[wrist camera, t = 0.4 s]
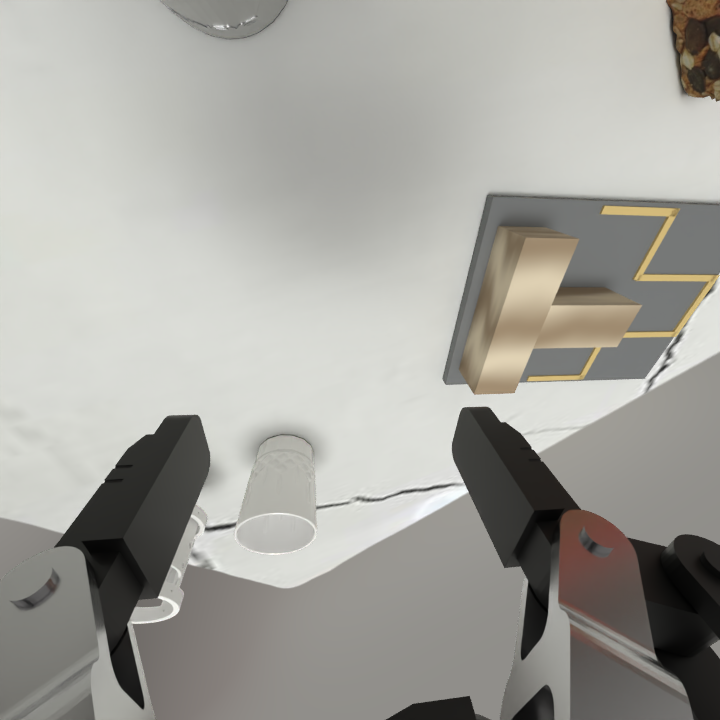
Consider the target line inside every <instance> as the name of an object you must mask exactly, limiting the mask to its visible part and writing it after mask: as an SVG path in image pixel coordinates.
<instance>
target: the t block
mask: <svg viewBox="0 0 720 720" xmlns="http://www.w3.org/2000/svg"><path fill="white" fill-rule="evenodd" d="M578 241H579V239H578V238H575V237H572V236H569V235H566V234H564V233H561V232H558V231H555V230H552V229H549V228H546V227H516V226H498V228H497V232H496V236H495V239H494V243H493V247H492V250H491V254H490V258H489V261H488V265H487V268H486V272H485V276H484V279H483V283H482V287H481V290H480V294H479V298H478V301H477V305H476V308H475V312H474V316H473V319H472V323H471V327H470V330H469V334H468V337H467V341H466V345H465V348H464V352H463V356H462V359H461V363H460V367H459V371H460V372H461V374H462V376H463V377H464V379H465V380H466V382H467V384H468V385H469V387H470V388H471V390H472V392H473V393H474V394H503V393H515V390H516V388H517V386H518V383H519V381H520V378H521V376H522V374H523V371H524V369H525V367H526V364H527V362H528V360H529V357H530V355H531V352H532V350H533V349H537V348H592V347H617V346H618V345H619V343H620V341H621V340H622V338H623V336H624V335H625V333H626V331H627V330H628V328H629V327H630V325H631V323H632V322H633V320H634V318H635V317H636V315H637V313H638V312H639V310H640V308H641V307H642V305H641V304H639V303H636V302H634V301H632V300H630V299H628V298H626V297H624V296H622V295H620V294H618V293H616V292H614V291H611V290H609V289H607V288H605V287H559V286H560V284H561V282H562V279H563V277H564V275H565V272H566V270H567V267H568V265H569V263H570V260H571V258H572V256H573V253H574V251H575V249H576V246H577V244H578Z"/></svg>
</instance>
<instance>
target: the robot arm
mask: <svg viewBox="0 0 720 720" xmlns="http://www.w3.org/2000/svg"><path fill="white" fill-rule="evenodd" d="M160 1H161V2H162V3H163V4H164V5H165V6H167V7H168V8H169V9H170V10H171V11H172V12H173V13H175V14H176V15H177V16H178V17H180V18H181V19H182V20H184V21H185V22H186V23H187V24H189V25H190V26H192V27H194V28H196V29H198V30H200V31H202V32H204V33H206V34H208V35H212V36H216V37H221V38H225V39H233V38H245V37H247V36H250V35H253V34H255V33H258V32H260V31H261V30H263V29H264V28H265V27H266V26H268V25H269V24H270V23H272V22H273V21H274V20H275V18H276V17H277V16H278V14H279V13H280V12H281V10H282V9H283V8H284V6H285V5H286V3H287V0H160ZM452 454H453V459H454V462H455V464H456V466H457V468H458V470H459V472H460V474H461V477H462V479H463V481H464V483H465V485H466V487H467V489H468V491H469V494H470V496H471V497H472V500H473V502H474V504H475V506H476V508H477V510H478V512H479V514H480V517H481V519H482V521H483V523H484V525H485V527H486V529H487V532H488V534H489V536H490V538H491V540H492V542H493V544H494V547H495V549H496V551H497V553H498V555H499V557H500V559H501V561H502V563H503V566H504V568H508V567H519V566H521V568H522V570H523V572H524V574H525V575H526V577H525V579H524V582H523V588H522V596H521V604H520V612H519V620H518V628H517V637H516V644H515V652H514V660H513V665H512V669H511V673H510V676H509V679H508V681H507V685H506V688H505V692H504V696H503V701H502V707H501V713H500V720H720V659H719V657H718V656H717V655H716V653H715V652H714V651H713V650H712V649H711V647H710V646H711V645H712V644H714V643H715V642H717V641H718V640H720V545H718V544H716V543H714V542H712V541H710V540H707V539H705V538H702V537H699V536H695V535H686V534H685V535H680V536H678V537H676V538H675V540H674V541H672V542H671V544H670V545H669V546H668V547H665V546H661V545H656V544H652V543H648V542H644V541H639V540H635V539H631V538H627V537H626V536H625V535H624V534H623V533H622V532H621V531H620V530H619V529H618V528H617V527H616V526H614V525H613V524H612V523H610V522H609V521H607V520H606V519H604V518H602V517H601V516H598V515H596V514H594V513H592V512H589V511H585V510H581V509H580V508H579V507H578V505H577V504H576V503H575V502H574V500H573V499H572V498H571V496H570V495H569V494H568V493H567V491H566V490H565V489H564V488H563V486H562V485H561V484H560V483H559V482H558V480H557V479H556V478H555V476H554V475H553V474H552V472H551V471H550V470H549V469H548V467H547V466H546V465H545V464H544V462H541V460H540V457H539V456H538V455H537V454H536V452H535V451H534V450H532V449H531V446H530V445H529V443H528V442H527V441H526V440H525V438H524V437H523V436H522V435H521V433H519V432H518V431H517V430H515V429H514V428H512V427H511V426H510V425H508V424H507V423H506V422H500V421H499V420H498V418H497V417H496V415H495V414H494V413H493V411H492V410H491V409H490V408H489V407H464V408H462V410H461V412H460V415H459V419H458V423H457V427H456V431H455V434H454V438H453V442H452ZM115 466H116V467H115V469H113V470H112V471H111V472H110V474H109V475H108V476H107V478H106V479H105V483H103V484H101V486H100V487H99V488H98V490H97V491H96V492H95V494H94V495H93V496H92V498H91V499H90V500H89V502H88V503H87V504H86V506H85V507H84V508H83V510H82V511H81V513H80V514H79V515H78V517H77V518H76V519H75V521H74V522H73V523H72V525H71V526H70V527H69V529H68V530H67V531H66V533H65V534H64V535H63V537H62V538H61V540H60V541H59V542H58V543H57V545H56V546H55V547H54V548H52V549H49V550H46V551H43V552H41V553H39V554H36V555H35V556H32V557H31V558H29V559H27V560H25V561H24V562H22V563H21V564H19V565H18V566H16V567H15V568H14V569H12V570H11V571H10V572H8V573H7V574H6V575H5V576H4V577H3V578H2V579H0V720H156V717H155V715H154V712H153V708H152V705H151V701H150V697H149V692H148V688H147V684H146V680H145V675H144V671H143V667H142V663H141V659H140V654H139V650H138V647H137V642H136V638H135V633H134V630H133V625H132V622H131V619H130V617H131V615H132V613H133V611H134V608H135V606H136V604H137V601H138V600H140V599H152V598H158V596H159V594H160V591H161V589H162V586H163V584H164V581H165V579H166V576H167V574H168V571H169V569H170V566H171V564H172V561H173V559H174V556H175V554H176V551H177V549H178V546H179V544H180V542H181V539H182V537H183V534H184V532H185V529H186V527H187V524H188V522H189V519H190V517H191V514H192V512H193V509H194V507H195V504H196V502H197V499H198V497H199V494H200V492H201V489H202V487H203V484H204V482H205V479H206V477H207V474H208V471H209V467H210V452H209V448H208V444H207V441H206V437H205V434H204V430H203V426H202V423H201V419H200V417H199V416H198V415H173V416H167V417H166V418H165V419H164V420H163V422H162V423H161V425H160V426H159V428H158V429H157V431H156V432H155V433H154V434H151V435H145V436H144V437H143V438H141V439H140V440H139V441H137V442H136V443H135V444H134V445H132V446H131V447H130V448H128V449H127V451H126V452H125V453H124V455H123V456H122V457H121V459H120V460H119V461H118V463H117V464H116V465H115ZM386 720H490V719H488V718H486V717H484V716H481V715H478V714H475V713H474V709H473V706H472V702H471V699H470V696H467V697H460V698H453V699H445V700H438V701H431V702H424V703H416V704H412V705H410V706H409V707H407V708H405V709H403V710H402V711H400V712H398V713H397V714H395V715H393V716H391V717H390V718H388V719H386Z"/></svg>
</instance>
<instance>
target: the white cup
mask: <svg viewBox="0 0 720 720" xmlns="http://www.w3.org/2000/svg"><path fill="white" fill-rule="evenodd" d="M316 536H317V517H316V485H315V470H314V454H313V451H312V447H311V445H310V444H308V443H307V442H306V441H305V440H304V439H301V438H298V437H296V436H292V435H279V436H276V437H272V438H269V439H267V440H266V441H265V442H264V443H263V444H261V445H260V447H259V451H258V454H257V458H256V461H255V464H254V466H253V468H252V471H251V475H250V478H249V481H248V484H247V488H246V492H245V495H244V499H243V502H242V506H241V510H240V513H239V517H238V520H237V524H236V527H235V531H234V538H235V541H236V542H237V543H238V544H239V545H240V546H241V547H243V548H244V549H246V550H249V551H251V552H255V553H259V554H267V555H279V554H287V553H292V552H295V551H298V550H301V549H303V548H305V547H307V546H308V545H310V544H311V543H312V542H313V541H314V540H315V538H316Z"/></svg>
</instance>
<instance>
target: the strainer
mask: <svg viewBox="0 0 720 720" xmlns="http://www.w3.org/2000/svg"><path fill="white" fill-rule="evenodd" d="M207 519H208V518H207V514H206V513H205V511H204V510H203V509H202V508H200V507H199V506H197V505H195V507H194V509H193V512H192V514H191V517H190V519H189V522H188V524H187V527H186V529H185V532H184V534H183V537H182V539H181V542H180V544H179V546H178V549H177V551H176V554H175V556H174V559H173V561H172V564H171V566H170V569H169V571H168V574H167V576H166V579H165V581H164V584H163V586H162V589H161V591H160V594H159V596H158V598H160V599H162V600H163V602H162V604H161V606H157V607H142V608H141V607H135V608H134V611H133V613H132V615H131V617H130V619H131V622H132V623H138V624H139V623H152V622H158V621H163V620H166V619H169V618H171V617H173V616H175V615H176V614H177V613H178V612H179V609H180V606H181V603H182V600H183V596H184V593H183V591H182V590H181V589H180V588H179V587H180V584H181V581H182V578H183V575H184V572H185V569H186V566H187V563H188V560H189V557H190V554H191V551H192V548H193V545H194V542H195V539H196V538H198V537H200V536H201V535H202V534H203V532H204V529H205V526H206V523H207ZM198 525H199V526H198Z"/></svg>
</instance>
